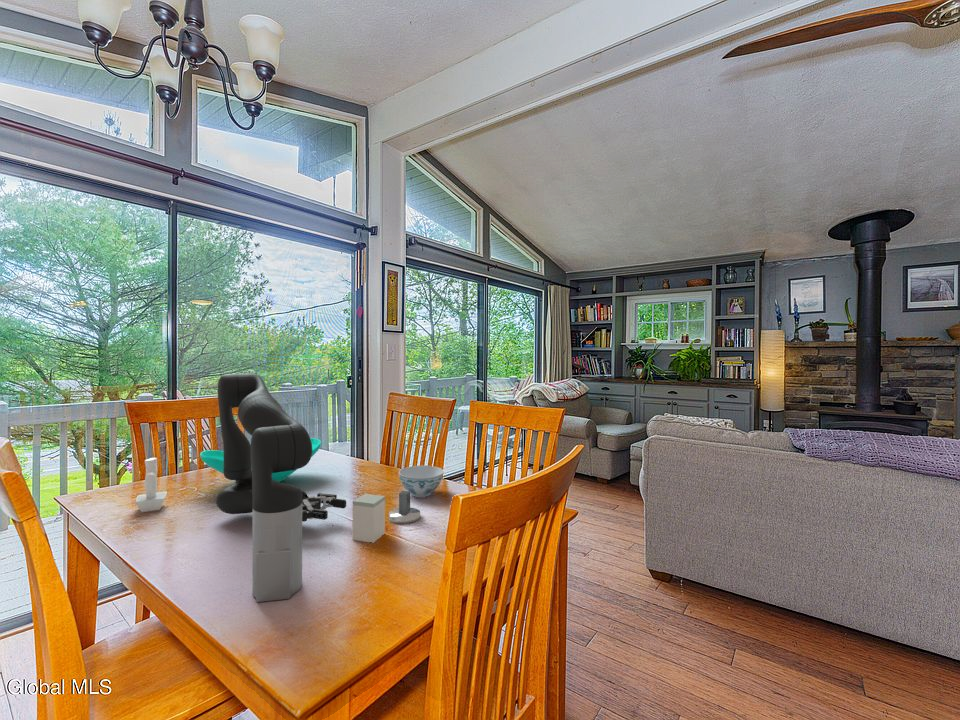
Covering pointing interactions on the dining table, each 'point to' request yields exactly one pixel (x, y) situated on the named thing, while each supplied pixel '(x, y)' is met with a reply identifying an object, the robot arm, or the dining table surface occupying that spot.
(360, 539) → the pale green block
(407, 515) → the grey post on dish
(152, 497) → the figurine
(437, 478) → the chinaware
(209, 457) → the table top decor
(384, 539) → the dining table surface
